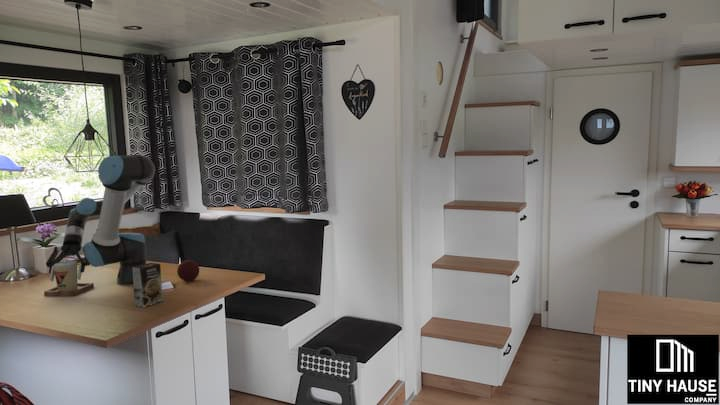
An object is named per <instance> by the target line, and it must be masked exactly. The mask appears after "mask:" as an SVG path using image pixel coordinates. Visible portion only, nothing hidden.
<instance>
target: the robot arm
mask: <svg viewBox="0 0 720 405" xmlns="http://www.w3.org/2000/svg"><path fill="white" fill-rule="evenodd" d="M97 173H98V179H99V180H100V182H101V184H102V186H103V187H104V193H103V196H102V197H103V198H102V199H98V200H95V199H93V198H90V197H84V198H82V199H80V201H78V203H77V204H76V206H75V207H74V208H72V209H71V210H69V214H68V216H67V217H68V219H67V223H66V228H65V232H64V237H63V242H62V245H61V247H58V246H54V248H53V251H52V253H51V254H50V256H49V257H48V259H47V261H46V262H45V266H46V267H47V268H48V273H49V280H50V281H51V283H52V282H54V280H55V271H54V264H56V263H59V262H62V261H63V259H65V258H66V257H69V256H71V257H72V256H73V257H74V256H76V258H77V259H78V261H79V263H80V264H78V268H77V281H81V279H82V274H83V273H84V272H85V267H86V266H88V267H89V266H92V267H93V268H97V267H104V266H109V265H113V264H117V263H119V270H118V273H117V276H116V283H117V284H118V285H124V286H125V285H127V286H129V285H134V284H133V268H132V267H135V266H139V265H144V264H147V254H146V252H147V251H146V241H145V236H144V234H143V233H140V232H120V226H121V221H122V217H123V216H122V215H123V212H124V211H125V207H126V206H125V205H126V203H127V202H128V201H129V200H130V199H131V198H132V197H133V196H134V195H135V194H136V193H137V192H138V191H139V190H140V189H141V188H142V187H143V186H146V185H148V184H149V183H150V182H151V181H152V180H153V178H154V177H155V173H156V167H155V164H154V162H153V161H152V160H151V159H150V158H149V157H147V156H145V155H142V154H127V155H117V154H115V155H111V156H110V155H109V156H106V157H104V158H102V159H101V161H100V162H99V165H98V169H97ZM96 217H99V220H98V224H97V230H96V232H95V233H93V234H92V236H91V241H87V242H86V243H84V245H83V246H82V242H83V239H84V238H83V237H84V232H85V227H86V224H87V222H88V221H89V220H90V218H96ZM81 251H82V252H83V255H84V258H85V261H84V260H83V258H82V257H81V255H80V253H79V252H81Z"/></svg>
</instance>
